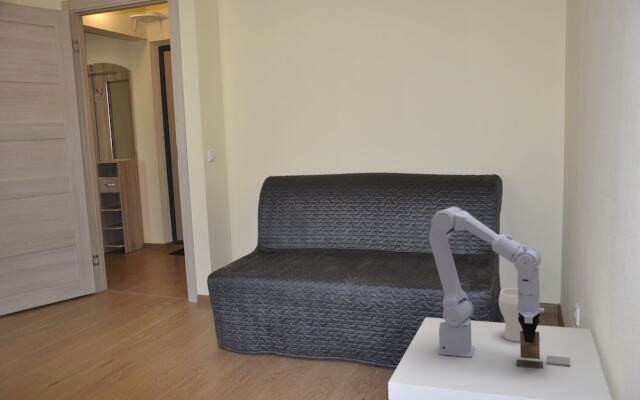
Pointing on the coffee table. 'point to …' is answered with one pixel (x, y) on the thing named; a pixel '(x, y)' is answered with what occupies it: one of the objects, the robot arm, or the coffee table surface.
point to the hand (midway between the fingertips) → (529, 340)
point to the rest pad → (529, 363)
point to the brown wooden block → (530, 347)
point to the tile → (558, 361)
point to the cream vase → (510, 313)
